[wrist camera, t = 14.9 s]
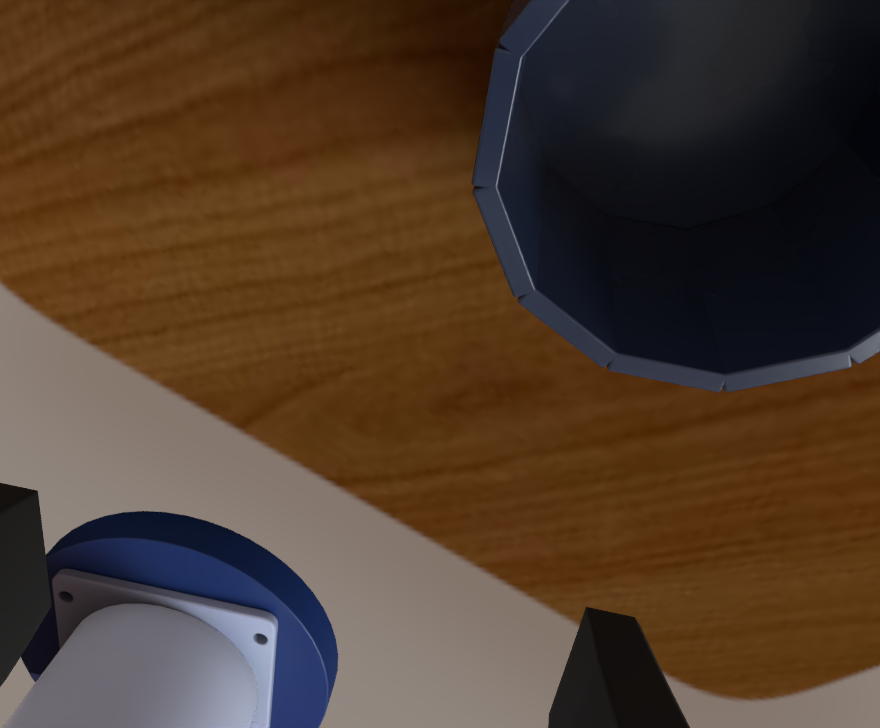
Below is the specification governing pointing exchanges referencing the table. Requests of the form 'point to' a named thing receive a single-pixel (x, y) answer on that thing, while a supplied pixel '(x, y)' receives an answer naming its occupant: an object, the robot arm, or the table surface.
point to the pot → (690, 182)
